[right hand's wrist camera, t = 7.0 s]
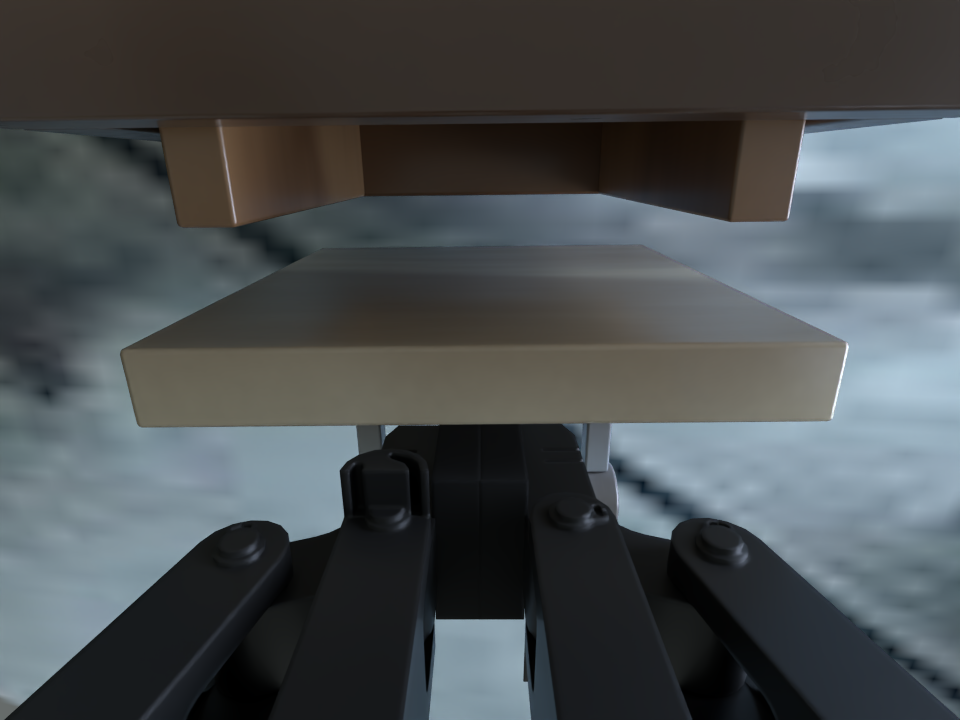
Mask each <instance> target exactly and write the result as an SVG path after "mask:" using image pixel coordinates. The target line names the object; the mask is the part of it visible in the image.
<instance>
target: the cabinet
mask: <svg viewBox="0 0 960 720" xmlns="http://www.w3.org/2000/svg"><path fill="white" fill-rule="evenodd" d="M957 117H960V0H0V128H2V129H23V130H29V131H41V132H53V133H65V134H77V135H89V136H101V137H113V138H125V139H137V140H149V141H161V137H160V132H159V128H165V127H246V126H328V125H409V124H490V123H571V122H652V121H733V120H806V122H805V128H804V133H803V134H805V133H814V132H823V131H833V130H842V129H851V128H861V127H870V126H880V125H889V124H898V123H908V122H917V121H926V120H936V119H942V118H957Z"/></svg>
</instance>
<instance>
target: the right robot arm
mask: <svg viewBox="0 0 960 720" xmlns="http://www.w3.org/2000/svg"><path fill="white" fill-rule="evenodd" d="M340 478H341V488H342V497H343V507H344V520H343V522H342V525H341V528H338V529H336V530H334V531H332V532H330V533H327V534H323V535H320V536H316V537H312V538H307V539H303V540H298V541H293V542H289V536H288V533H287V532H286V531H285V530H284V528H283V527H282V526H281V525H278V524H275V523H272V522H269V521H246V522H240V523H236V524H232V525H230V526H227V527H225V528H223V529H220V530H218V531H215V532H214V533H212V534H211V535H210V536H208V537H207V538H205V539H204V540H202V541H201V542H200V543H199V544H197V545H196V546H195V547H194V548H193V549H192V550H191V551H190V552H189V553H188V554H186V555H185V556H184V557H183V558H182V559H181V560H180V561H179V562H178V563H177V564H175V565H174V566H173V567H172V568H171V569H170V570H169V571H168V572H167V573H166V574H164V575H163V576H162V577H161V578H160V579H159V580H158V581H157V582H156V583H155V584H153V585H152V586H151V587H150V588H149V589H148V590H147V591H146V592H145V593H144V594H142V595H141V596H140V597H139V598H138V599H137V600H136V601H135V602H134V603H132V604H131V605H130V606H129V607H128V608H127V609H126V610H125V611H124V612H123V613H121V614H120V615H119V616H118V617H117V618H116V619H115V620H114V621H113V622H112V623H110V624H109V625H108V626H107V627H106V628H105V629H104V630H103V631H102V632H101V633H99V634H98V635H97V636H96V637H95V638H94V639H93V640H92V641H91V642H90V643H88V644H87V645H86V646H85V647H84V648H83V649H82V650H81V651H80V652H78V653H77V654H76V655H75V656H74V657H73V658H72V659H71V660H70V661H69V662H67V663H66V664H65V665H64V666H63V667H62V668H61V669H60V670H59V671H58V672H56V673H55V674H54V675H53V676H52V677H51V678H50V679H49V680H48V681H47V682H45V683H44V684H43V685H42V686H41V687H40V688H39V689H38V690H37V691H36V692H34V693H33V694H32V695H31V696H30V697H29V698H28V699H27V700H26V701H25V702H23V703H22V704H21V705H20V706H19V707H18V708H17V709H16V710H15V711H14V712H12V713H11V714H10V715H9V716H8V717H7V718H6V719H5V720H429V711H430V700H431V689H432V677H433V666H434V655H435V627H434V621H435V610H436V619H524V608H525V618H526V627H525V653H524V680H523V682H528V688H529V699H530V710H531V720H960V719H959V718H958V717H957V716H956V715H955V714H954V713H952V712H951V711H950V710H949V709H948V708H947V707H946V706H945V705H944V704H942V703H941V702H940V701H939V700H938V699H937V698H936V697H935V696H934V695H932V694H931V693H930V692H929V691H928V690H927V689H926V688H925V687H924V686H922V685H921V684H920V683H919V682H918V681H917V680H916V679H915V678H914V677H912V676H911V675H910V674H909V673H908V672H907V671H906V670H905V669H904V668H902V667H901V666H900V665H899V664H898V663H897V662H896V661H895V660H894V659H892V658H891V657H890V656H889V655H888V654H887V653H886V652H885V651H884V650H882V649H881V648H880V647H879V646H878V645H877V644H876V643H875V642H874V641H872V640H871V639H870V638H869V637H868V636H867V635H866V634H865V633H864V632H862V631H861V630H860V629H859V628H858V627H857V626H856V625H855V624H854V623H852V622H851V621H850V620H849V619H848V618H847V617H846V616H845V615H844V614H842V613H841V612H840V611H839V610H838V609H837V608H836V607H835V606H834V605H832V604H831V603H830V602H829V601H828V600H827V599H826V598H825V597H824V596H822V595H821V594H820V593H819V592H818V591H817V590H816V589H815V588H814V587H812V586H811V585H810V584H809V583H808V582H807V581H806V580H805V579H804V578H802V577H801V576H800V575H799V574H798V573H797V572H796V571H795V570H794V569H792V568H791V567H790V566H789V565H788V564H787V563H786V562H785V561H784V560H782V559H781V558H780V557H779V556H778V555H777V554H776V553H775V552H774V551H772V550H771V549H770V548H769V547H768V546H767V545H766V544H765V543H764V542H762V541H761V540H760V539H759V538H757V537H756V536H754V535H753V534H752V533H750V532H749V531H747V530H746V529H744V528H741V527H739V526H736V525H734V524H732V523H729V522H726V521H722V520H717V519H711V518H694V519H690V520H687V521H684V522H681V523H679V524H678V525H677V526H676V527H675V529H674V530H673V531H672V536H671V540H668V539H663V538H659V537H654V536H649V535H645V534H641V533H638V532H634V531H631V530H629V529H627V528H624V527H622V526H620V525H619V524H618V522H617V519H616V516H615V515H614V514H613V512H612V511H611V509H610V508H609V507H608V506H607V505H605V504H604V503H603V502H601V501H600V500H598V499H596V496H595V493H594V490H593V487H592V484H591V481H590V478H589V475H588V473H587V470H586V467H585V464H584V462H583V458H582V455H581V452H580V451H579V447H578V444H577V441H576V438H575V435H574V434H573V433H571V432H570V431H569V430H568V429H567V428H565V427H564V426H563V425H562V424H457V425H399V426H398V427H397V428H395V429H394V430H393V431H392V432H391V433H390V434H388V435H387V436H386V437H385V440H384V443H383V446H382V449H379V450H373V451H369V452H366V453H363V454H359V455H358V456H356V457H354V458H352V459H351V460H349V461H347V462H346V464H345V465H344V466H343V467H342V468H341V470H340Z"/></svg>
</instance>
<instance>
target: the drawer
mask: <svg viewBox="0 0 960 720" xmlns="http://www.w3.org/2000/svg"><path fill="white" fill-rule="evenodd" d="M805 122H806V120H733V121H652V122H571V123H490V124H409V125H328V126H246V127H165V128H159V132H160V137H161V142H162V147H163V152H164V158H165V163H166V168H167V173H168V178H169V183H170V189H171V194H172V199H173V204H174V209H175V214H176V220H177V224H178V225H179V226H180V227H183V228H229V227H238V226H242V225H246V224H250V223H254V222H259V221H263V220H267V219H271V218H275V217H279V216H284V215H288V214H292V213H296V212H300V211H305V210H309V209H313V208H317V207H321V206H325V205H330V204H334V203H338V202H342V201H346V200H350V199H355V198H359V197H363V196H437V195H524V194H603V195H608V196H613V197H617V198H622V199H626V200H631V201H636V202H640V203H645V204H650V205H654V206H659V207H663V208H668V209H673V210H677V211H682V212H687V213H691V214H696V215H701V216H705V217H710V218H714V219H719V220H724V221H728V222H773V221H786V220H788V218H789V213H790V208H791V202H792V196H793V191H794V185H795V179H796V173H797V168H798V162H799V156H800V151H801V145H802V139H803V133H804V128H805ZM848 349H849V345H848V343H847V342H845V341H843V340H841V339H839V338H837V337H835V336H833V335H831V334H829V333H827V332H824V331H822V330H820V329H818V328H816V327H814V326H812V325H810V324H808V323H805V322H803V321H801V320H799V319H797V318H795V317H793V316H791V315H789V314H787V313H784V312H782V311H780V310H778V309H776V308H774V307H772V306H770V305H768V304H766V303H763V302H761V301H759V300H757V299H755V298H753V297H751V296H749V295H747V294H745V293H742V292H740V291H738V290H736V289H734V288H732V287H730V286H728V285H726V284H724V283H721V282H719V281H717V280H715V279H713V278H711V277H709V276H707V275H705V274H703V273H700V272H698V271H696V270H694V269H692V268H690V267H688V266H686V265H684V264H682V263H679V262H677V261H675V260H673V259H671V258H669V257H667V256H665V255H663V254H661V253H658V252H656V251H654V250H652V249H650V248H648V247H646V246H644V245H575V246H484V247H393V248H322V249H320V250H318V251H316V252H314V253H312V254H310V255H308V256H306V257H304V258H302V259H300V260H298V261H296V262H294V263H292V264H290V265H288V266H286V267H284V268H282V269H280V270H278V271H276V272H274V273H272V274H270V275H268V276H266V277H265V278H263V279H261V280H259V281H257V282H255V283H253V284H251V285H249V286H247V287H245V288H243V289H241V290H239V291H237V292H235V293H233V294H231V295H229V296H227V297H225V298H223V299H221V300H219V301H217V302H215V303H213V304H211V305H209V306H207V307H205V308H203V309H201V310H199V311H197V312H195V313H193V314H191V315H189V316H187V317H185V318H183V319H181V320H179V321H177V322H175V323H173V324H171V325H169V326H167V327H165V328H163V329H162V330H160V331H158V332H156V333H154V334H152V335H150V336H148V337H146V338H144V339H142V340H140V341H138V342H136V343H134V344H132V345H130V346H128V347H126V348H124V349H122V350H121V353H120V356H121V360H122V365H123V369H124V373H125V377H126V381H127V385H128V389H129V393H130V397H131V401H132V405H133V409H134V413H135V417H136V421H137V424H138V425H139V426H140V427H238V426H347V425H356V428H357V438H358V448H359V454H363V453H366V452H369V451H373V450H379V449H382V446H383V443H384V440H385V437H386V436H385V425H457V424H566V423H583V432H582V449H581V455H582V458H583V462H584V464H585V467H586V470H587V473H588V475H589V478H590V481H591V484H592V487H593V490H594V493H595V496H596V499H598V500H600V501H601V502H603V503H604V504H605V505H607V506H608V507H609V508H610V509H611V511H612V512H613V514H614V515H615V516H616V519H617V520H618V513H619V495H618V485H617V480H616V475H615V472H614V469H613V467H612V465H611V464H610V463H609V451H610V438H611V426H612V423H675V422H784V421H830V420H831V419H832V418H833V415H834V411H835V406H836V402H837V397H838V393H839V389H840V384H841V380H842V376H843V371H844V367H845V363H846V358H847V354H848Z"/></svg>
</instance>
